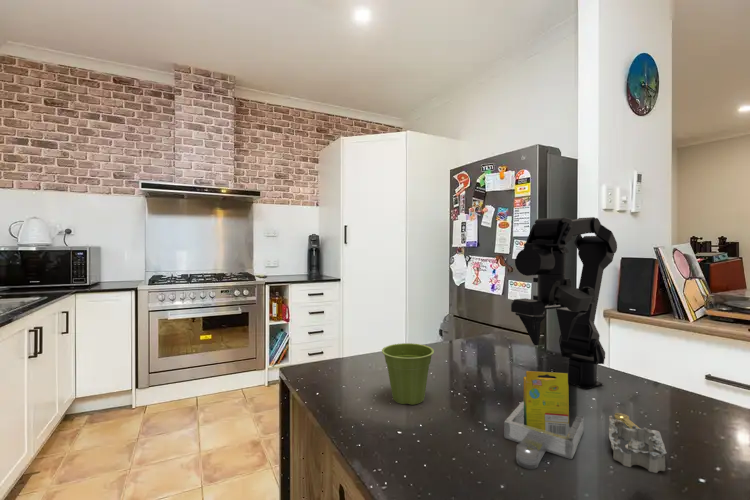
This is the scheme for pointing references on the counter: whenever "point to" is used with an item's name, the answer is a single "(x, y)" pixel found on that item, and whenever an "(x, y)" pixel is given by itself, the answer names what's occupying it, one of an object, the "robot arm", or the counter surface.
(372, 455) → the counter surface
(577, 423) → the grey u-shaped piece
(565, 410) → the crayon box
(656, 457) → the egg carton
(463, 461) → the counter surface
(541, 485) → the counter surface
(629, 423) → the brass key
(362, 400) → the counter surface
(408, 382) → the plant pot
